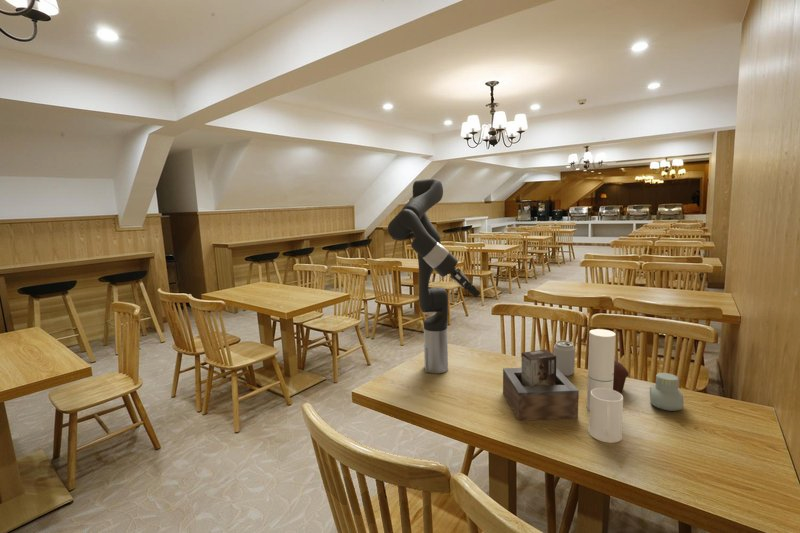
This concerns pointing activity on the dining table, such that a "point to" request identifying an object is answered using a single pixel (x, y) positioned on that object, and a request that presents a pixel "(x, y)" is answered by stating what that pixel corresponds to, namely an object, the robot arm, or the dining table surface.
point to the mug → (606, 415)
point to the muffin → (619, 376)
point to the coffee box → (538, 368)
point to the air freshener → (666, 392)
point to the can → (565, 357)
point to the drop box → (540, 397)
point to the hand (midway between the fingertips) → (475, 292)
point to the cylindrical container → (600, 360)
